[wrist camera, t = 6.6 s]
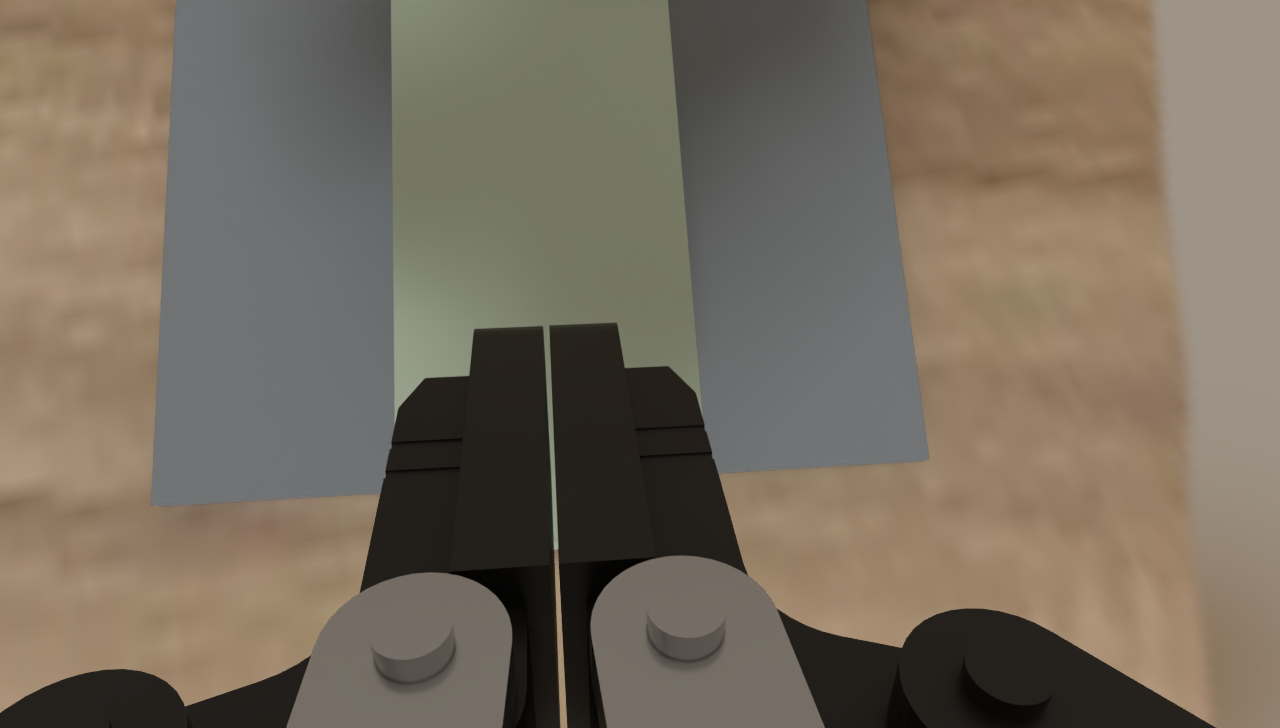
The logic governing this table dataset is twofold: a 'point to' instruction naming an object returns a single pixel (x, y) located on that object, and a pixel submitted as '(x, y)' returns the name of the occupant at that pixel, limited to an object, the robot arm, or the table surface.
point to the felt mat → (363, 246)
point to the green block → (536, 182)
